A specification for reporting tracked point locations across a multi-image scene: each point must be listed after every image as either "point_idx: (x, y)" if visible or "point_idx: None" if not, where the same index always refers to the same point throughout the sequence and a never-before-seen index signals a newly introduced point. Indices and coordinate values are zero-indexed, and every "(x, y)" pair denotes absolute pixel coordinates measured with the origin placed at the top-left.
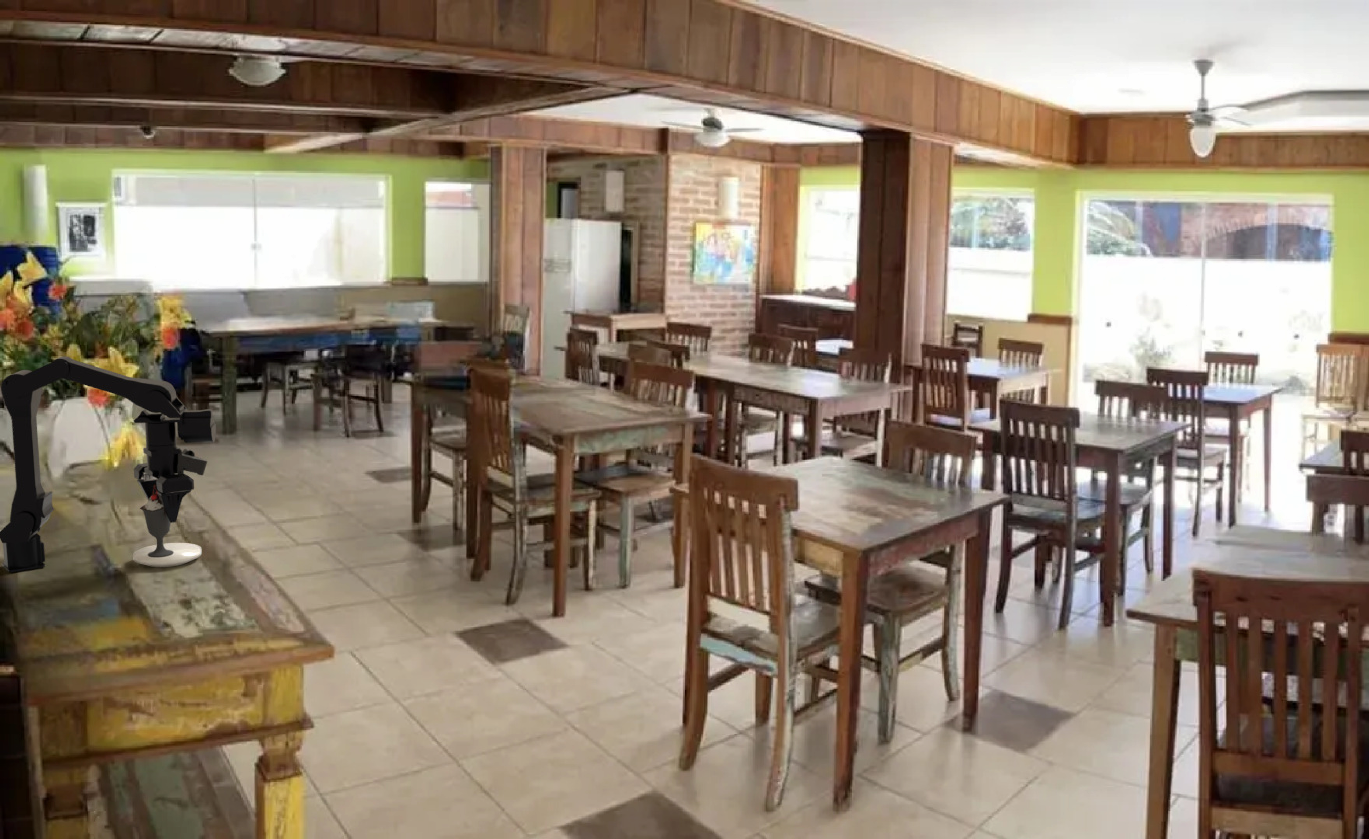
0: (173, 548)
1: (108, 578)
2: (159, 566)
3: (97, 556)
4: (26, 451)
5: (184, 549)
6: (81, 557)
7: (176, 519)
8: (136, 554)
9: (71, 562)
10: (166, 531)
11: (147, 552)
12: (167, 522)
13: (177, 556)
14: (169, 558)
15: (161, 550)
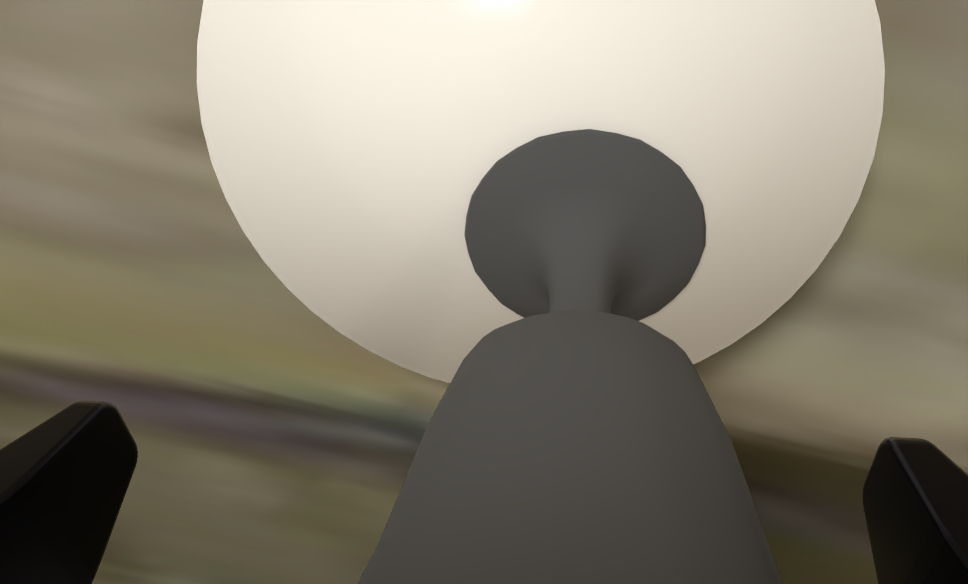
0: (438, 78)
1: None
2: None
3: (173, 420)
4: None
5: None
6: (167, 472)
7: (958, 471)
8: None
9: (254, 521)
10: (698, 377)
11: (453, 297)
12: (742, 477)
13: (786, 142)
14: (796, 223)
15: (631, 269)
